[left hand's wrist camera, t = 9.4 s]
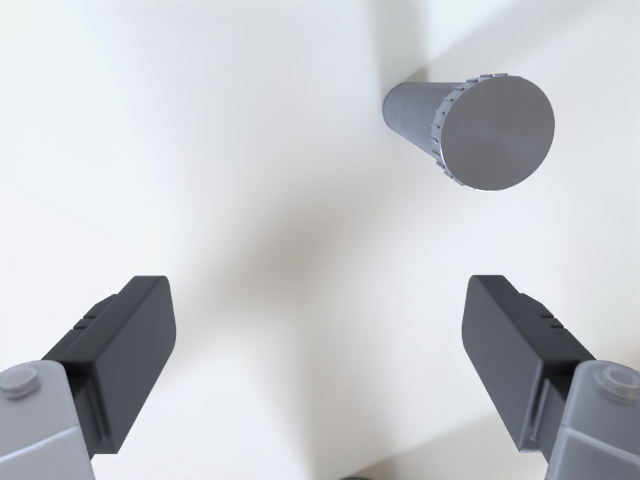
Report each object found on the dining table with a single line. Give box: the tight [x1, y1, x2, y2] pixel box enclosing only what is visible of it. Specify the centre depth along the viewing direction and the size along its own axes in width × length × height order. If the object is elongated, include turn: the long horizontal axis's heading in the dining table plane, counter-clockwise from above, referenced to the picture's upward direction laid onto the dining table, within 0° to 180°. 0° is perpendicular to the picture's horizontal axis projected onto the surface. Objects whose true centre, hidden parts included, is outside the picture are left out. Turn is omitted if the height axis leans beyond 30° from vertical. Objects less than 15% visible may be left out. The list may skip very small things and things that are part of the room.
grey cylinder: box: [383, 83, 464, 158], centre depth 27 cm, size 4×4×19 cm
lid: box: [429, 74, 555, 191], centre depth 18 cm, size 5×5×2 cm
